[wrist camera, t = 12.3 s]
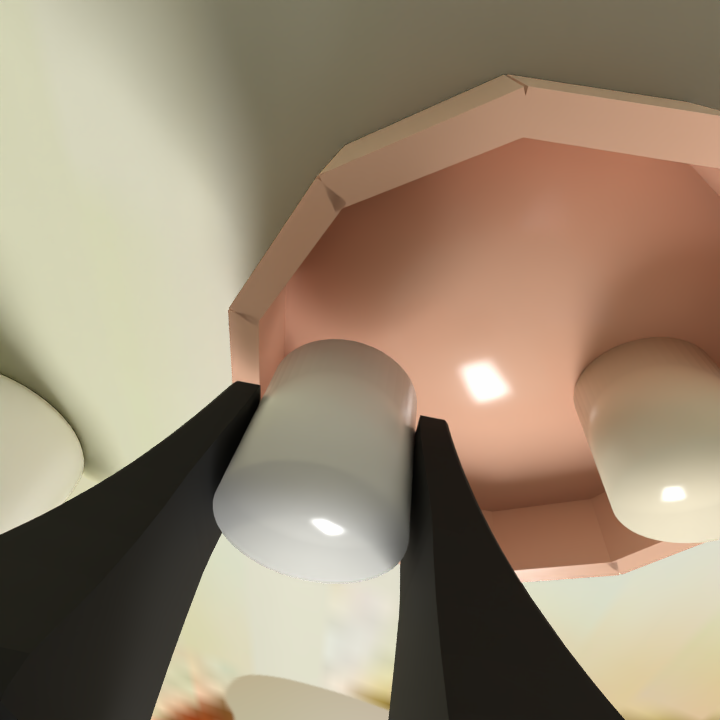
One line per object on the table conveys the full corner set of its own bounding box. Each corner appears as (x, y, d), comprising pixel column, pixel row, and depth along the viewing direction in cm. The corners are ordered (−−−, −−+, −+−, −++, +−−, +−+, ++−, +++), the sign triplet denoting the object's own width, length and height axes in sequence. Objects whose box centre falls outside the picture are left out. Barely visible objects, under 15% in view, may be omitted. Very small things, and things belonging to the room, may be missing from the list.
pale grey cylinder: (432, 356, 11) (429, 486, 8) (401, 464, 13) (389, 598, 10) (273, 325, 11) (206, 440, 8) (269, 437, 14) (217, 561, 10)
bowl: (947, 141, 10) (1121, 177, 8) (623, 538, 19) (652, 615, 17) (266, 37, 11) (211, 37, 8) (267, 467, 20) (241, 531, 17)
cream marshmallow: (747, 353, 13) (848, 457, 10) (668, 447, 15) (730, 556, 12) (610, 324, 13) (666, 418, 10) (552, 422, 15) (583, 524, 12)
